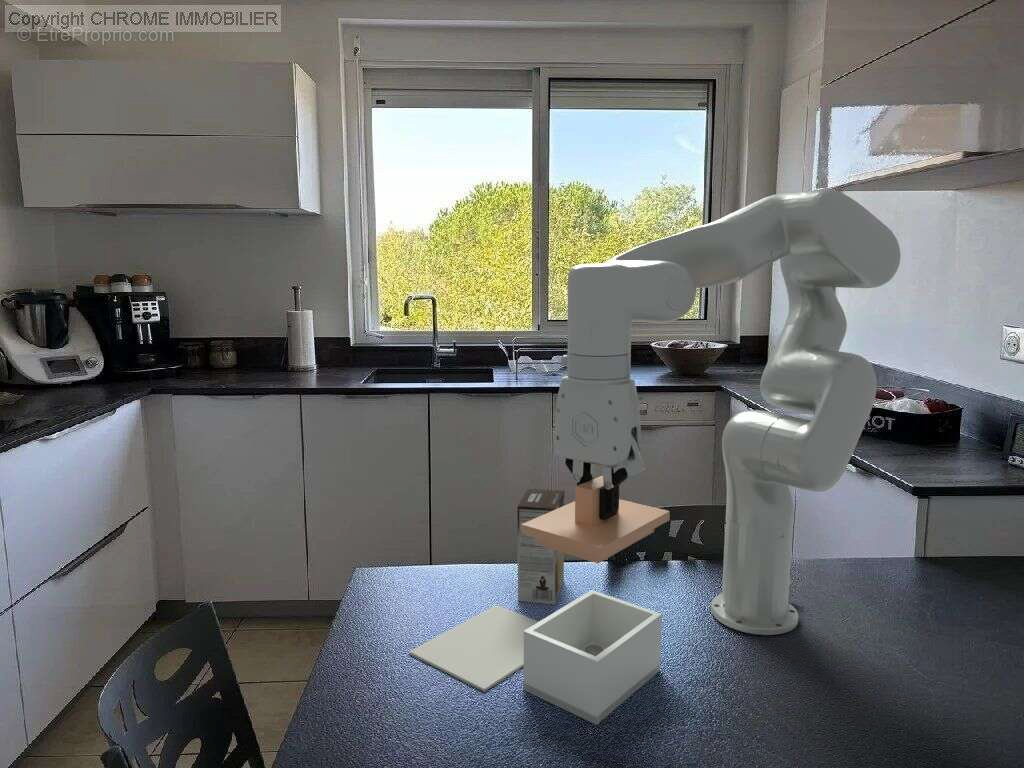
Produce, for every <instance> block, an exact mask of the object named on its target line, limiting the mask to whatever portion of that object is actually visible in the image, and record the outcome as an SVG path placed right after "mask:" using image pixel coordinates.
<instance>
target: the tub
mask: <svg viewBox="0 0 1024 768" xmlns="http://www.w3.org/2000/svg"><path fill="white" fill-rule="evenodd" d="M662 617H663V613H661V612H658V611H655V610H652V609H648V608H646V607H642V606H640V605H637V604H634V603H631V602H628V601H626V600H622V599H619V598H617V597H614V596H610V595H608V594H605V593H601V592H599V591H596V590H593V589H591V590H589V591H588V592H586V593H584V594H583V595H581V596H579V597H577V598H576V599H573V600H572V601H571V602H569V603H568V604H566V605H564V606H562V607H561V608H560V609H558V610H556V611H554V612H553V613H551V614H549V615H548V616H546V617H545V618H543V619H541V620H540V621H538V623H536V624H534V625H533V626H531V627H529V628H528V629H526V630H524V666H523V691H525V692H527V693H530V694H532V695H533V696H536V697H537V698H540V699H542V700H544V701H546V702H548V703H550V704H552V705H554V706H556V707H558V708H561V709H562V710H565V711H568V712H569V713H570V714H572V715H575V716H577V717H579V718H582V719H583V720H586V721H588V722H589V723H592V724H594V725H596V726H597V725H599V724H600V723H601V722H602V721H603V720H604V719H605V718H607V717H608V716H609V715H610V714H612V713H613V711H615V710H616V709H617V708H618V707H619V706H621V704H623V703H624V702H626V700H627V699H628V698H630V697H631V696H632V695H634V693H636V692H637V691H638V690H639V689H640V688H641V687H643V686H644V685H645V684H646V683H647V682H649V681H650V680H651V679H652V678H653V677H654V676H656V675H657V674H658V673H659V672H660V671H661V652H662V651H661V650H662V626H663V625H662V619H663V618H662Z"/></svg>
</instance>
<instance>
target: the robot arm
mask: <svg viewBox="0 0 1024 768" xmlns="http://www.w3.org/2000/svg"><path fill="white" fill-rule="evenodd" d="M777 261H779V264H780V265H779V266H780V269H781V270H780V271H781V274H782V278H783V281H784V284H785V288H786V293H787V298H788V315H787V318H786V320H785V323H784V326H783V328H782V330H781V332H780V335H779V337H778V339H777V341H776V343H775V345H774V348H773V350H772V352H771V355H770V356H769V359H768V360H767V363H766V365H765V367H764V370H763V372H762V375H761V379H760V383H759V391H760V395H761V396H762V398H763V400H765V401H766V402H767V403H768V404H770V405H772V406H774V407H776V408H779V409H784V410H787V411H792V412H796V413H799V414H806V415H811V416H812V418H811V419H807V418H806V419H805V418H800V417H795V416H792V415H787V414H782V413H778V412H773V411H768V410H761V409H748V410H744V411H741V412H739V413H736V414H735V415H733V416H732V417H731V418H730V419H729V420H728V421H727V423H726V425H725V427H724V429H723V433H722V437H721V451H722V458H723V463H724V464H723V465H724V469H725V479H726V480H725V481H726V506H725V521H724V522H725V529H724V543H723V544H724V547H723V549H724V550H723V568H722V569H723V570H722V571H723V572H722V589H721V591H722V592H721V593H719V594H717V595H715V597H713V598H712V600H711V603H710V611H711V614H712V615H713V617H714V618H715V619H716V620H717V621H718V622H719V623H721V624H722V625H724V626H726V627H728V628H730V629H733V630H735V631H739V632H742V633H746V634H751V635H758V636H759V635H761V636H775V635H781V634H786V633H789V632H791V631H793V630H795V628H797V626H798V623H799V612H798V610H797V609H796V607H794V605H792V604H791V603H790V602H789V593H790V592H789V591H790V585H791V584H792V579H791V575H790V574H791V560H792V559H791V558H792V545H793V544H792V543H793V532H794V531H793V530H794V529H793V528H794V519H795V517H794V516H795V507H794V499H793V496H792V493H791V489H790V488H789V487H793V488H796V489H800V490H803V491H807V492H814V493H822V492H826V491H828V490H830V489H832V488H833V487H834V486H835V485H837V483H838V482H839V481H840V479H841V478H842V476H844V475H843V474H844V472H845V471H846V469H847V467H848V464H849V462H850V460H851V458H852V457H853V456H852V455H853V454H854V450H855V449H856V446H857V444H858V441H859V439H860V437H861V435H862V432H863V430H864V428H865V425H866V424H867V421H868V419H869V417H870V414H871V412H872V409H873V406H874V404H875V400H876V395H877V375H876V372H875V368H874V366H872V364H871V363H870V362H869V360H867V359H866V358H865V357H863V356H861V355H859V354H855V353H852V352H846V351H840V349H841V347H842V345H843V344H842V343H843V341H844V339H845V336H846V333H847V328H848V326H847V325H848V324H847V317H846V315H845V311H844V309H843V307H842V305H841V303H840V302H839V300H838V297H837V296H836V293H835V291H834V288H842V289H843V288H849V289H874V288H878V287H881V286H884V285H886V284H887V283H889V282H890V281H891V280H892V279H893V278H894V277H895V274H896V273H897V271H898V269H899V267H900V263H901V248H900V245H899V241H898V239H897V237H896V235H895V234H894V232H893V231H892V230H891V229H890V228H889V227H888V225H886V224H885V223H883V221H881V220H880V219H879V218H878V217H876V216H875V215H874V214H873V213H872V212H870V210H868V209H866V208H865V207H864V206H863V205H862V204H860V203H859V202H858V201H856V200H855V199H853V198H852V197H850V196H849V195H846V194H845V193H843V192H841V191H838V190H835V189H828V188H827V189H817V190H816V189H815V190H814V189H813V190H804V191H801V190H800V191H793V192H782V193H776V194H772V195H769V196H766V197H763V198H761V199H759V200H757V201H755V202H752V203H749V204H748V205H747V206H744V207H742V208H740V209H738V210H736V211H734V212H731V213H729V214H728V215H725V216H724V217H721V218H719V219H716V220H715V221H712V222H709V223H708V224H707V223H706V224H703V225H700V226H696V227H693V228H690V229H687V230H684V231H681V232H679V233H675V234H672V235H669V236H666V237H665V236H664V237H662V238H660V239H659V238H658V239H656V240H653V241H649V242H646V243H644V244H641V245H638V246H636V247H633V248H631V249H628V250H627V251H625V252H623V253H620V254H618V255H615V256H614V257H612V258H610V259H608V260H606V261H605V262H603V263H602V262H601V263H600V262H599V263H594V262H593V263H581V264H577V265H574V266H572V267H571V268H570V270H569V273H568V275H567V353H566V354H563V355H561V358H560V363H561V365H562V366H566V368H567V369H566V372H567V375H565V376H563V377H562V378H561V381H560V385H559V390H558V392H557V399H556V406H555V415H554V418H555V419H554V429H553V430H554V435H553V436H554V437H553V438H554V440H553V444H554V445H553V446H554V451H553V454H554V457H556V458H557V459H558V460H559V461H560V462H562V463H564V464H565V466H566V467H567V469H568V471H570V473H571V475H572V480H573V481H574V482H575V483H576V486H578V485H580V484H583V483H585V482H588V481H590V480H592V479H595V478H596V477H593V474H594V473H593V472H594V465H597V466H601V467H602V475H603V485H604V487H603V488H600V509H599V517H600V519H601V520H606V519H608V518H610V517H612V516H614V515H616V514H617V511H618V509H619V499H620V486H621V485H623V483H624V482H625V481H626V480H627V479H628V478H629V477H632V476H635V475H639V474H641V473H642V472H645V471H646V464H645V461H644V459H643V457H642V454H641V447H642V446H641V445H642V444H641V442H642V434H641V433H642V431H641V430H642V428H641V412H640V404H639V397H638V392H637V386H636V382H635V379H631V366H632V365H631V364H632V363H631V361H632V360H631V357H632V353H631V350H632V345H631V344H632V324H633V323H634V322H642V323H652V324H669V323H673V322H676V321H678V320H680V319H681V318H683V317H684V316H685V315H687V314H688V313H689V312H690V310H691V309H692V307H693V306H694V304H695V301H696V296H697V289H705V288H706V289H707V288H714V287H719V286H725V285H729V284H733V283H737V282H739V281H741V280H743V279H745V278H747V277H749V276H750V275H752V274H754V273H756V272H757V271H760V270H761V269H764V268H765V267H766V266H767V267H768V266H769V265H771V264H773V263H774V262H777ZM627 461H628V465H625V466H624V463H626V462H627Z"/></svg>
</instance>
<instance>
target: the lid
mask: <svg viewBox="0 0 1024 768" xmlns="http://www.w3.org/2000/svg"><path fill="white" fill-rule="evenodd" d="M594 478H595V479H592V480H590V481H588V482H585V483H583V484H580V485H578V486H577V485H576V486H574V487H575V489H574V490H575V491H574V492H575V493H574V501H572V502H570V503H567V504H564V506H563V507H560V508H558V509H556V510H553V511H551V512H549V513H546V514H544V515H542V516H539V517H537V518H535V519H532V520H530V521H528V522H526V523H523V524H521V534H524V535H527V536H530V537H534V538H537V539H538V545H540V546H543V547H546V548H549V549H553V550H556V551H559V552H562V553H564V554H566V555H570V556H573V557H575V558H579V559H582V560H585V561H588V562H592V563H594V564H600V563H602V562H603V561H605V560H607V559H609V558H610V557H612V556H614V555H616V554H617V553H619V552H621V551H622V550H624V549H626V548H628V547H630V546H632V545H633V544H636V543H637V542H638V541H640V540H642V539H644V538H646V537H648V536H649V535H651V534H653V533H654V532H655V529H656V528H658V527H660V526H661V525H663V524H665V523H667V522H669V521H670V517H671V515H670V514H671V513H670V512H671V511H670V510H667V509H662V508H658V507H655V506H650V505H645V504H642V503H637V502H633V501H629V500H624V499H622V498H621V499H620V498H619V509H618V511H617V514H616V515H614V516H612V517H610V518H608V519H606V520H601V519H600V517H599V509H600V488H603V487H604V485H603V474H602V475H601V476H598V477H594Z"/></svg>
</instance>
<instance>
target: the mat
mask: <svg viewBox="0 0 1024 768" xmlns="http://www.w3.org/2000/svg"><path fill="white" fill-rule="evenodd" d="M538 622H539V621H538V620H535V619H533V618H530V617H528V616H525V615H523V614H520V613H518V612H516V611H512V610H510V609H507V608H505V607H503V606H500V605H498V604H495V605H493V606H491V607H489V608H487V609H485V610H483V611H482V612H480V613H478V614H476V615H474V616H472V617H471V618H469V619H467V620H465V621H463V622H461V623H460V624H457V625H455V626H454V627H452V628H450V629H449V630H446V631H444V632H442V633H440V634H439V635H437V636H435V637H433V638H432V639H430V640H428V641H426V642H424V643H422V644H420V645H419V646H416V647H415V648H412V649H410V650H409V651H408V652H409V655H410V656H412V657H415V658H416V659H419V660H420V661H422V662H424V663H426V664H428V665H431V666H432V667H434V668H437V669H438V670H440V671H442V672H445V673H447V674H448V675H450V676H452V677H454V678H456V679H458V680H460V681H462V682H464V683H465V684H468V685H470V686H471V687H474V688H476V689H478V690H480V691H482V692H483V693H485V692H487V691H488V690H490V689H491V688H492V687H494V686H496V685H497V684H499V683H500V682H502V681H503V680H505V679H506V678H508V677H509V676H511V675H512V674H514V673H515V672H516V671H519V670H520V669H522V668H524V630H526V629H528V628H529V627H531V626H533V625H534V624H536V623H538Z"/></svg>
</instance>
